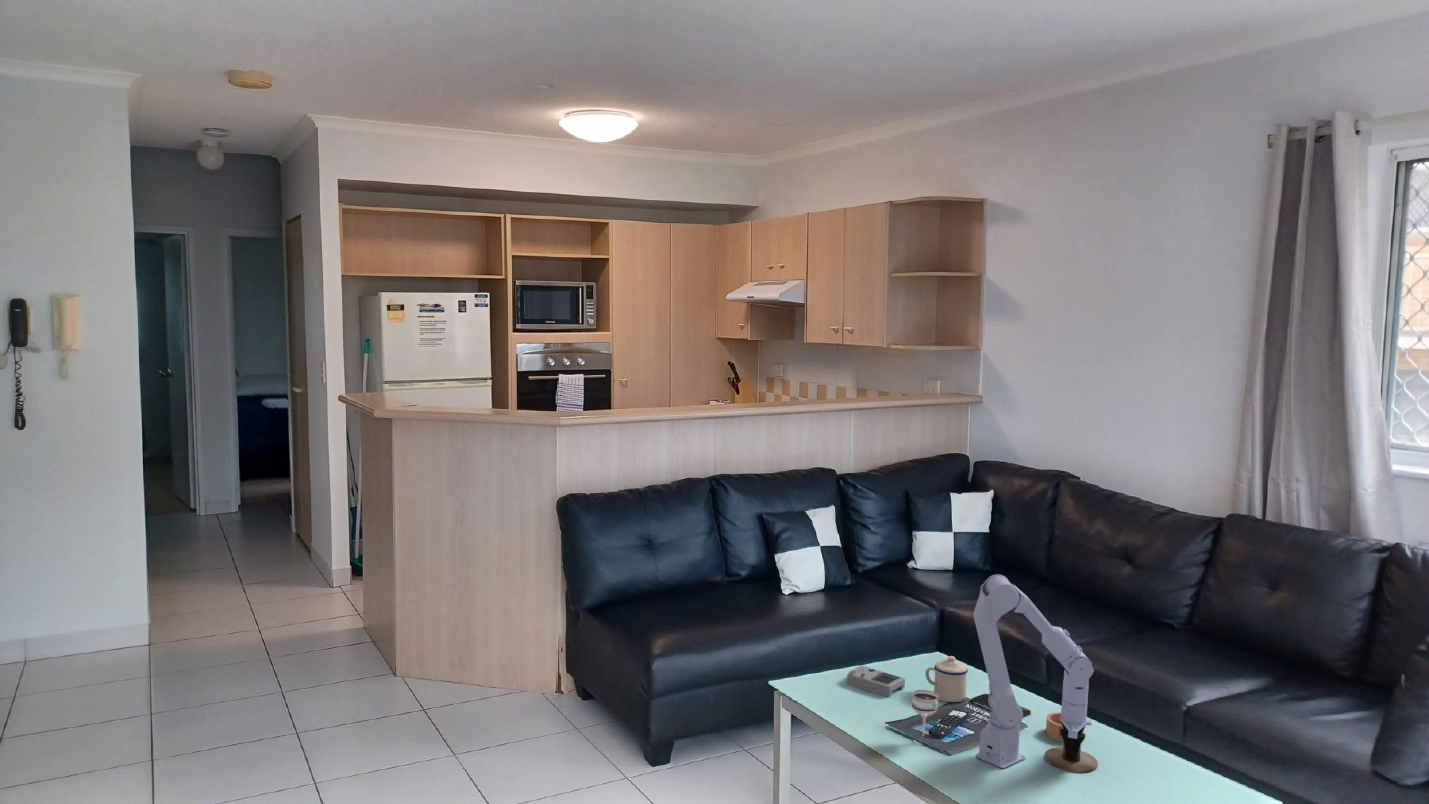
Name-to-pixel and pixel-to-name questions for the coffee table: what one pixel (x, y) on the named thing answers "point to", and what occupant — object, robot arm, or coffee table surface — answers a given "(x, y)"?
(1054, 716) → the terracotta bowl
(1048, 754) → the walnut lid
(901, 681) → the handheld gaming device
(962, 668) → the teacup with lid
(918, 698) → the wineglass
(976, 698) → the phone
